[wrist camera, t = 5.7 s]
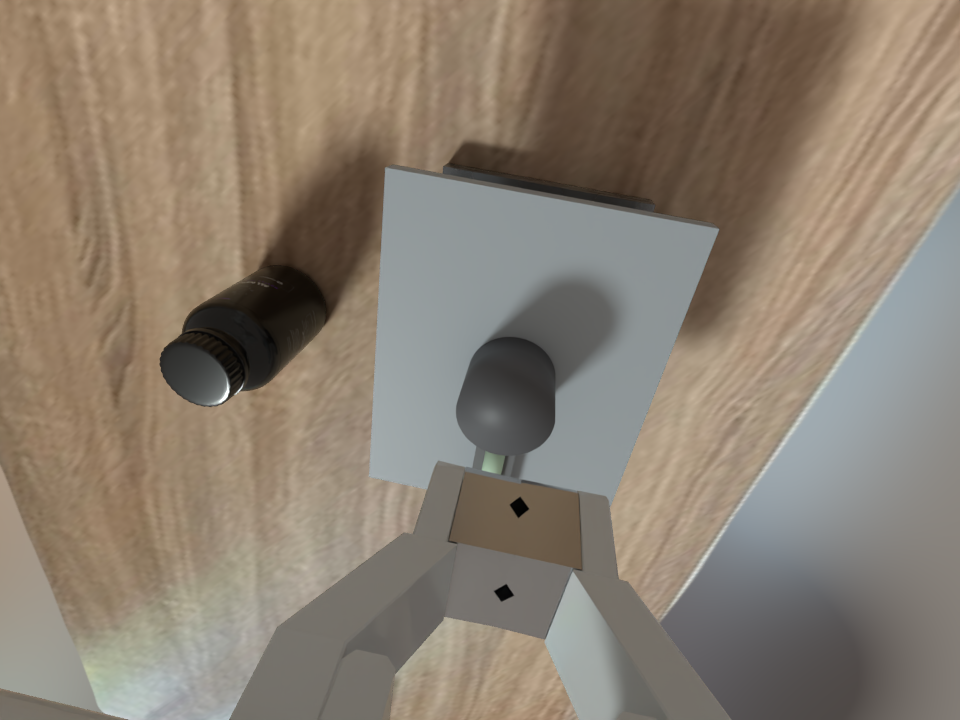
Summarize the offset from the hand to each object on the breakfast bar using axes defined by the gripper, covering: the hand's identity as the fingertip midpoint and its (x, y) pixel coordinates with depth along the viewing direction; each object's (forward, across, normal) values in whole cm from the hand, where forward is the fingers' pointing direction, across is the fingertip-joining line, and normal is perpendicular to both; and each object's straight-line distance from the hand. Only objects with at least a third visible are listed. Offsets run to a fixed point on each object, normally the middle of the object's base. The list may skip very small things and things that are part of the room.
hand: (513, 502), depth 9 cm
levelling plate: (+19, 0, +8) cm, 20 cm away
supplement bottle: (+29, +19, +13) cm, 37 cm away
